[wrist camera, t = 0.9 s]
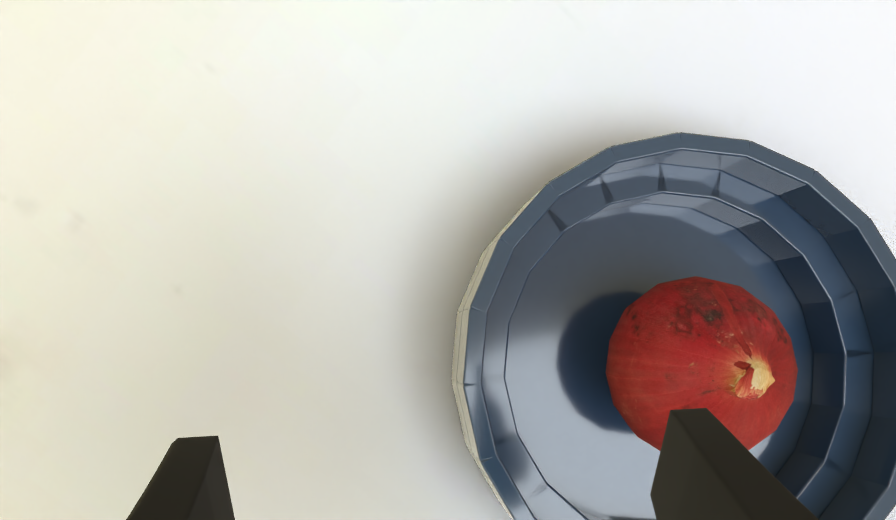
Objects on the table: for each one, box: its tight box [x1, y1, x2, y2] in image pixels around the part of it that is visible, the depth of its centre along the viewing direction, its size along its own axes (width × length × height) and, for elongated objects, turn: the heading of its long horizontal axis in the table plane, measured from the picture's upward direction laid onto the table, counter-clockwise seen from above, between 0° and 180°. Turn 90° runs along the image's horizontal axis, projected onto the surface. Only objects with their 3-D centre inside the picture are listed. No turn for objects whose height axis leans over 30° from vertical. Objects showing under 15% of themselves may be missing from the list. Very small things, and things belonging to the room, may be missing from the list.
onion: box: [605, 276, 798, 451], centre depth 25 cm, size 6×6×8 cm
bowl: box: [451, 132, 896, 520], centre depth 28 cm, size 15×15×4 cm
